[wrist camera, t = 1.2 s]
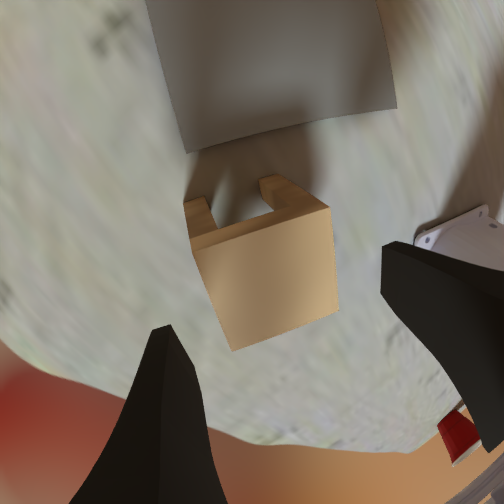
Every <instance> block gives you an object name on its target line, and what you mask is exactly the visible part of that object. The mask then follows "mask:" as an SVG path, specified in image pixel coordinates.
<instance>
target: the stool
mask: <svg viewBox="0 0 504 504" xmlns="http://www.w3.org/2000/svg"><path fill="white" fill-rule="evenodd" d="M258 182H259V186H260V190H261V195H262V199H263V200H264V201H265V202H266V203H267V204H268V205H269V206H270V207H271V208H272V209H273V210H274V211H273V212H270V213H267V214H264V215H261V216H257V217H254V218H251V219H248V220H245V221H242V222H239V223H236V224H233V225H230V226H227V227H224V228H221V229H218V228H217V225H216V223H215V221H214V218H213V216H212V214H211V211H210V209H209V207H208V204H207V202H206V200H205V197H204V196H203V197H200V198H197V199H194V200H191V201H188V202H185V203H183V206H184V212H185V217H186V223H187V228H188V234H189V239H190V244H191V249H192V254H193V256H194V259H195V262H196V264H197V267H198V269H199V272H200V275H201V277H202V280H203V282H204V285H205V287H206V290H207V293H208V295H209V298H210V300H211V303H212V305H213V308H214V310H215V312H216V315H217V317H218V320H219V322H220V325H221V327H222V329H223V332H224V334H225V337H226V339H227V341H228V344H229V346H230V348H231V351H235V350H238V349H241V348H244V347H247V346H250V345H252V344H255V343H258V342H261V341H264V340H266V339H269V338H272V337H274V336H277V335H280V334H282V333H285V332H288V331H290V330H293V329H295V328H298V327H300V326H303V325H305V324H308V323H310V322H313V321H315V320H318V319H320V318H322V317H325V316H327V315H329V314H332V313H334V312H337V311H339V308H338V290H337V275H336V262H335V251H334V240H333V230H332V220H331V212H330V207H329V206H328V205H326V204H325V203H323V202H322V201H320V200H318V199H317V198H315V197H314V196H312V195H311V194H309V193H308V192H306V191H305V190H303V189H302V188H300V187H298V186H297V185H295V184H294V183H292V182H291V181H289V180H287V179H286V178H284V177H283V176H281V175H279V174H275V175H271V176H268V177H264V178H261V179H258Z"/></svg>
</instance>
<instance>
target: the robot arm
mask: <svg viewBox="0 0 504 504" xmlns="http://www.w3.org/2000/svg"><path fill="white" fill-rule="evenodd" d="M488 212H489V207H488V206H487V205H485V204H484V205H482V206H480V207H478V208H475V209H473V210H471V211H469V212H467V213H465V214H463V215H460V216H458V217H456V218H454V219H452V220H450V221H447V222H445V223H443V224H441V225H438V226H436V227H434V228H432V229H429V230H427V231H425V232H423V233H420V234H419V235H418V236H417V237H416V239H415V245H410V244H407V243H403V242H398V241H394V242H391V243H389V244H387V245H384V246H382V267H381V291H380V293H381V295H382V296H383V298H384V299H385V300H386V302H387V303H388V305H389V306H390V307H391V309H392V310H393V312H394V313H395V314H396V315H397V316H398V318H399V319H400V320H401V321H402V322H403V323H404V324H405V325H406V326H407V327H408V328H409V329H410V330H411V332H412V333H413V334H414V335H415V336H416V337H417V338H418V339H419V340H420V341H421V342H422V343H423V344H424V346H425V347H426V348H427V349H428V350H429V351H430V352H431V353H432V354H433V356H434V357H435V358H436V359H437V360H438V362H439V363H440V364H441V366H442V367H443V369H444V370H445V372H446V373H447V375H448V376H449V378H450V379H451V381H452V382H453V384H454V386H455V387H456V389H457V391H458V392H459V394H460V396H461V397H462V399H463V401H464V403H465V405H466V407H467V409H468V411H469V413H470V415H471V417H472V419H473V421H474V424H475V426H476V429H477V431H478V434H479V436H480V439H481V442H482V445H483V447H484V448H485V450H486V451H487V452H488V453H490V452H491V451H492V450H493V449H494V448H496V447H497V446H498V445H499V444H500V443H501V442H502V441H503V440H504V225H503V224H501V223H499V222H498V221H496V220H494V219H492V218H490V217H489V216H488ZM493 489H494V490H493ZM492 490H493V491H492ZM491 491H492V492H491ZM490 492H491V496H492V497H491V498H490V499H489V500H488V501H486V502H485V503H484V504H504V453H503V454H502V455H501V456H500V457H499V458H498V459H497V460H496V461H495V462H493V464H491V466H489V467H488V468H487V469H486V470H485V471H484V472H483V473H482V474H481V475H479V476H478V477H477V478H476V479H475V480H474V481H473V482H471V483H470V484H469V485H468V486H467V487H465V488H464V489H463V490H462V491H461V492H459V493H458V494H457V495H455V496H454V497H453V498H452V499H450V500H449V501H448V502H446V503H445V504H478V503H479V502H480V501H481V500H482V499H483V498H485V496H487V495H488V494H489V493H490ZM69 504H228V503H227V501H226V498H225V495H224V492H223V489H222V487H221V484H220V481H219V478H218V475H217V471H216V468H215V465H214V461H213V457H212V453H211V447H210V442H209V436H208V430H207V424H206V418H205V412H204V406H203V399H202V393H201V390H200V386H199V382H198V378H197V375H196V371H195V367H194V365H193V363H192V361H191V360H190V358H189V356H188V355H187V353H186V351H185V349H184V348H183V346H182V344H181V342H180V341H179V339H178V337H177V335H176V333H175V332H174V330H173V328H172V326H171V324H170V325H166V326H163V327H160V328H157V329H154V330H152V332H151V334H150V336H149V339H148V342H147V345H146V348H145V351H144V354H143V356H142V359H141V362H140V365H139V368H138V371H137V373H136V376H135V379H134V381H133V384H132V387H131V390H130V392H129V395H128V397H127V399H126V402H125V404H124V407H123V409H122V412H121V414H120V417H119V419H118V421H117V423H116V426H115V427H114V430H113V432H112V434H111V436H110V438H109V440H108V442H107V444H106V446H105V448H104V449H103V451H102V453H101V455H100V457H99V458H98V460H97V462H96V463H95V465H94V467H93V468H92V470H91V472H90V473H89V475H88V477H87V478H86V480H85V481H84V483H83V484H82V486H81V487H80V489H79V490H78V492H77V493H76V494H75V496H74V497H73V498H72V500H71V501H70V502H69Z"/></svg>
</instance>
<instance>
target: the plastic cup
mask: <svg viewBox="0 0 504 504" xmlns="http://www.w3.org/2000/svg"><path fill="white" fill-rule="evenodd" d="M437 427H438V430H439V432H440V434H441V436H442V439H443V441H444V443H445V445H446V448H447V450H448V452H449V454H450V457H451V461H452V467H453V466H455V465H457V464H458V463H460V462H461V461H463V460H464V459H465V458H466V457H468V456H469V455H470V454H471V453H472V452H474V451H475V450H476V449H477V448H478V447H479V446H480V445H481V444H482V442H481V439H480V436H479V434H478V431H477V429H476V426H475V425H474V424H473V423H472V422H471V421H470V420H469V419H467V418H466V417H464V416H463V415H462V414H461V413H460V412H458V411H457V410H454V411H452V412H451V413H449V414H448V415H447V416H446V417H445V418H443V419H442V420H441V421H440V423H439V424H438V425H437Z"/></svg>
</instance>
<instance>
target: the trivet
mask: <svg viewBox="0 0 504 504" xmlns="http://www.w3.org/2000/svg"><path fill="white" fill-rule="evenodd" d="M145 1H146V5H147V10H148V14H149V18H150V22H151V26H152V30H153V34H154V38H155V42H156V46H157V50H158V54H159V57H160V61H161V65H162V69H163V72H164V76H165V80H166V84H167V87H168V91H169V95H170V98H171V102H172V105H173V109H174V112H175V116H176V120H177V123H178V127H179V130H180V133H181V137H182V140H183V144H184V147H185V150H186V153H187V154H188V153H191V152H194V151H197V150H200V149H203V148H207V147H210V146H214V145H217V144H220V143H224V142H227V141H231V140H235V139H238V138H242V137H246V136H250V135H254V134H258V133H262V132H266V131H270V130H274V129H279V128H283V127H287V126H292V125H297V124H302V123H306V122H312V121H317V120H322V119H328V118H333V117H339V116H345V115H351V114H358V113H365V112H372V111H380V110H389V109H397V102H396V95H395V88H394V82H393V75H392V70H391V64H390V59H389V54H388V49H387V45H386V40H385V36H384V31H383V27H382V23H381V20H380V16H379V12H378V8H377V5H376V1H375V0H145Z"/></svg>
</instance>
